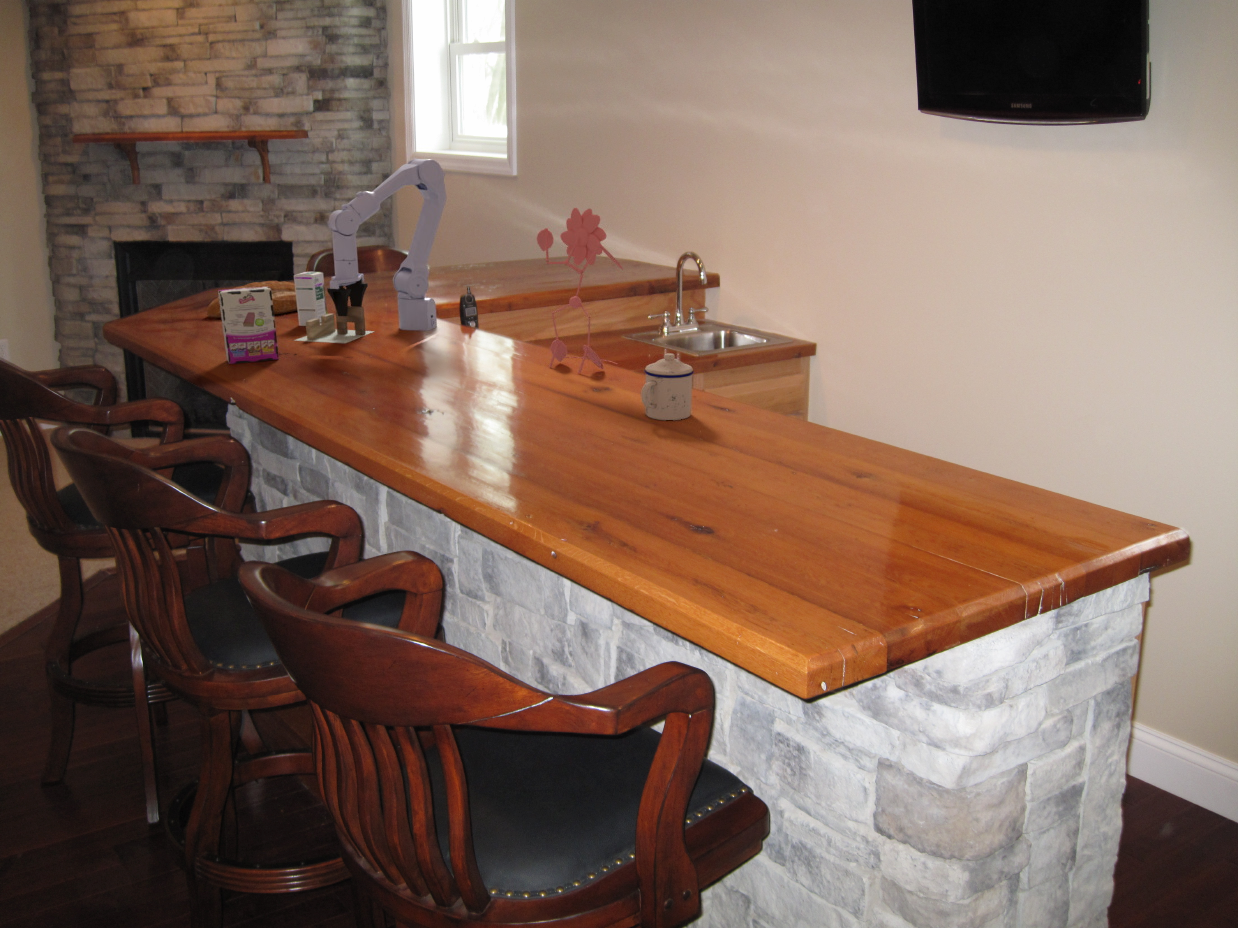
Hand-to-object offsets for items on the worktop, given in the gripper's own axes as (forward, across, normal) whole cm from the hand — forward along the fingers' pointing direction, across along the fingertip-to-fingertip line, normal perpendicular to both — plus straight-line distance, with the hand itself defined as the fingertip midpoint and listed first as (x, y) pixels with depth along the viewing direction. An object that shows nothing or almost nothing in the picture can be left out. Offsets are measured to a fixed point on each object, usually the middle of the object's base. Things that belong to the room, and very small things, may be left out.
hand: (349, 313), depth 259 cm
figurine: (+6, +17, +67) cm, 69 cm away
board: (+6, +3, -3) cm, 7 cm away
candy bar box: (+6, +30, -9) cm, 32 cm away
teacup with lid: (+6, +55, +92) cm, 107 cm away
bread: (+7, -30, -42) cm, 52 cm away
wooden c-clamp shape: (+5, 0, 0) cm, 5 cm away
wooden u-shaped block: (+5, +3, -6) cm, 9 cm away
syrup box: (+6, -11, -16) cm, 21 cm away
